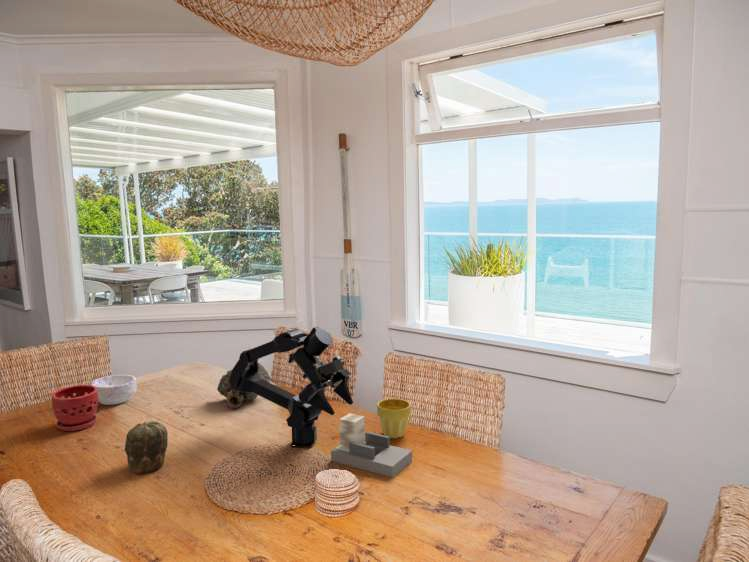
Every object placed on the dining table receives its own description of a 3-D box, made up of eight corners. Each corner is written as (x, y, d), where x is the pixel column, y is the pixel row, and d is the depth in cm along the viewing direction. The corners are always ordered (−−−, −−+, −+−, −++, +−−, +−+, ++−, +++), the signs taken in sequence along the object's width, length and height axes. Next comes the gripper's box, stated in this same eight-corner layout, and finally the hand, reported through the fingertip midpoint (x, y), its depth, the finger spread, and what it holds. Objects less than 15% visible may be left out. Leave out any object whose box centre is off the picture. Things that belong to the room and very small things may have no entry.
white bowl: (125, 408, 193) (124, 386, 192) (83, 408, 193) (81, 386, 192) (144, 394, 208) (143, 373, 207) (105, 394, 208) (103, 374, 207)
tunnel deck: (331, 460, 150) (330, 440, 149) (352, 446, 159) (352, 426, 158) (392, 477, 140) (392, 455, 139) (412, 460, 149) (412, 440, 148)
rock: (251, 350, 204) (242, 353, 189) (277, 378, 204) (270, 383, 189) (215, 384, 203) (203, 390, 188) (241, 412, 203) (231, 420, 188)
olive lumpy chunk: (178, 460, 151) (175, 418, 150) (150, 478, 141) (147, 434, 139) (146, 454, 155) (144, 414, 153) (117, 472, 145) (114, 429, 143)
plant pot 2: (408, 442, 161) (408, 410, 160) (374, 439, 163) (374, 408, 162) (412, 428, 171) (412, 399, 170) (380, 426, 173) (380, 397, 172)
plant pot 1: (44, 431, 173) (41, 394, 171) (80, 416, 185) (78, 382, 183) (74, 436, 168) (71, 399, 166) (109, 421, 180) (106, 386, 179)
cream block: (340, 446, 151) (339, 419, 150) (349, 440, 156) (349, 413, 155) (355, 450, 149) (354, 422, 148) (364, 443, 153) (364, 416, 152)
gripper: (305, 356, 145) (340, 402, 141) (344, 342, 161) (377, 383, 157) (284, 380, 150) (317, 426, 146) (323, 364, 166) (354, 405, 162)
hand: (343, 409), depth 153 cm, fingers open, 9 cm apart
